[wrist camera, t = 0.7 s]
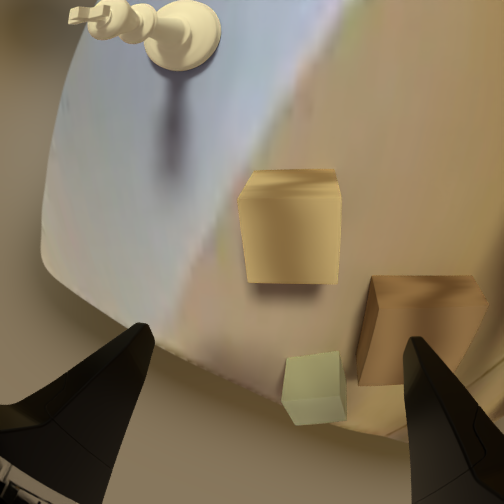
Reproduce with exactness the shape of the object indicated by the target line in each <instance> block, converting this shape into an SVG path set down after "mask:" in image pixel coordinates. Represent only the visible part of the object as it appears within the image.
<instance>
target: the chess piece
mask: <svg viewBox="0 0 504 504" xmlns="http://www.w3.org/2000/svg"><path fill="white" fill-rule="evenodd" d="M87 21H88V30H89V33H90V34H91V36H92V37H94V38H95V39H97V40H108V39H111V38H114V37H117V36H119V37H120V39H122V40H123V41H124V42H126V43H129V44H137V43H140V42H143V41H144V46H145V50H146V52H147V54H148V56H149V58H150V59H151V60H152V61H153V62H154V63H155V64H157V65H158V66H160V67H163V68H165V69H168V70H173V71H185V70H189V69H192V68H195V67H197V66H199V65H201V64H202V63H204V62H205V61H206V60H207V59H208V58H209V57H210V56H211V55H212V54H213V53H214V51H215V50H216V48H217V46H218V44H219V41H220V36H221V25H220V21H219V19H218V17H217V15H216V13H215V12H214V11H213V10H212V9H211V8H210V7H208V6H207V5H205V4H203V3H200V2H196V1H191V0H181V1H176V2H172V3H170V4H168V5H166V6H164V7H162V8H161V9H160V10H158V11H157V12H156V11H155V9H154V8H153V7H152V6H150V5H148V4H136V5H133V6H130V5H129V3H128V2H127V1H126V0H101V1H100V2H99V3H98V4H97V5H96V6H95V7H92V8H86V7H76V8H72V9H71V10H70V14H69V22H68V24H79V23H83V22H87Z"/></svg>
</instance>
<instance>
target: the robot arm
mask: <svg viewBox="0 0 504 504" xmlns="http://www.w3.org/2000/svg"><path fill="white" fill-rule="evenodd" d="M154 345H155V339H154V336H153V334H152V332H151V329H150V327H149V325H148V324H146V323H140V322H138V323H136V324H134V325H133V326H131V327H130V328H128V329H127V330H126V331H124V332H123V333H121V334H120V335H118V336H117V337H116V338H114V339H113V340H112V341H110V342H109V343H107V344H106V345H104V346H103V347H101V348H100V349H99V350H97V351H96V352H94V353H93V354H91V355H90V356H89V357H87V358H86V359H84V360H83V361H82V362H80V363H79V364H77V365H76V366H75V367H73V368H72V369H70V370H69V371H68V372H66V373H65V374H63V375H62V376H60V377H59V378H58V379H56V380H55V381H53V382H52V383H50V384H48V385H47V386H45V387H44V388H42V389H40V390H39V391H37V392H35V393H33V394H32V395H30V396H28V397H26V398H25V399H23V400H21V401H19V402H17V403H15V404H11V405H0V504H75V503H76V502H77V503H79V504H102V501H103V498H104V495H105V492H106V489H107V486H108V483H109V480H110V476H111V473H112V469H113V467H114V464H115V461H116V458H117V455H118V452H119V449H120V446H121V444H122V440H123V438H124V435H125V432H126V429H127V427H128V424H129V421H130V418H131V416H132V413H133V410H134V408H135V405H136V402H137V400H138V397H139V394H140V392H141V389H142V386H143V384H144V381H145V378H146V375H147V371H148V367H149V364H150V360H151V356H152V353H153V349H154ZM403 376H404V401H405V409H406V418H407V427H408V437H409V449H410V464H411V488H412V489H411V490H412V504H504V434H502V432H501V431H500V430H499V429H498V428H497V427H496V426H495V424H494V423H493V422H492V421H491V420H490V418H489V417H488V416H487V415H486V413H485V412H484V411H483V409H482V408H481V407H480V406H478V403H477V402H476V401H475V399H474V398H473V397H472V396H471V394H470V393H469V392H468V391H467V389H466V388H465V387H464V386H463V384H462V383H461V382H460V381H459V379H458V378H457V377H456V376H455V375H454V373H453V372H452V371H451V370H450V369H449V367H448V366H447V365H446V364H445V363H444V361H443V360H442V359H441V358H440V357H439V356H438V354H437V353H436V352H435V351H434V350H433V349H432V347H431V346H430V345H429V344H428V343H427V342H426V341H425V339H424V338H423V337H421V336H411V337H410V338H409V339H408V342H407V344H406V347H405V350H404V352H403Z"/></svg>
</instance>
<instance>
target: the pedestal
mask: <svg viewBox="0 0 504 504" xmlns="http://www.w3.org/2000/svg"><path fill="white" fill-rule="evenodd" d="M488 307H489V304H488V302H487V300H486V298H485V297H484V295H483V293H482V291H481V290H480V288H479V286H478V284H477V283H476V281H475V279H474V278H473V276H372V277H371V283H370V289H369V294H368V300H367V305H366V310H365V315H364V320H363V325H362V330H361V334H360V339H359V343H358V347H357V351H356V362H357V377H358V386H380V385H399V384H404V376H403V352H404V350H405V347H406V344H407V342H408V339H409V338H410V337H411V336H421V337H423V338H424V339H425V341H426V342H427V343H428V344H429V345H430V346H431V347H432V349H433V350H434V351H435V352H436V353H437V354H438V356H439V357H440V358H441V359H442V360H443V361H444V363H445V364H446V365H447V366H448V367H449V369H450V370H451V371H452V372H453V373H454V372H455V370H456V369H457V367H458V365H459V364H460V362H461V360H462V358H463V357H464V355H465V353H466V351H467V349H468V348H469V346H470V344H471V342H472V340H473V338H474V336H475V334H476V332H477V330H478V328H479V326H480V324H481V322H482V320H483V318H484V316H485V314H486V311H487V309H488Z"/></svg>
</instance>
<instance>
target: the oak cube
mask: <svg viewBox="0 0 504 504" xmlns="http://www.w3.org/2000/svg"><path fill="white" fill-rule="evenodd" d="M237 203H238V211H239V219H240V226H241V234H242V242H243V249H244V257H245V264H246V272H247V279H248V283H284V284H337V283H338V270H339V254H340V236H341V209H342V197H341V193H340V189H339V185H338V182H337V178H336V174H335V170H334V169H292V170H260V171H254V172H253V174H252V175H251V177H250V178H249V180H248V182H247V183H246V185H245V187H244V188H243V190H242V192H241V194H240V195H239V197H238V199H237Z"/></svg>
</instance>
